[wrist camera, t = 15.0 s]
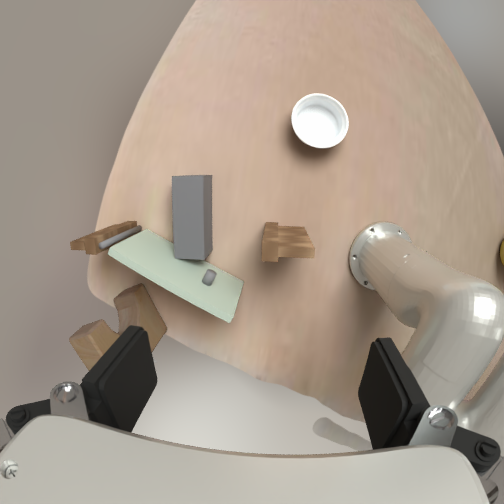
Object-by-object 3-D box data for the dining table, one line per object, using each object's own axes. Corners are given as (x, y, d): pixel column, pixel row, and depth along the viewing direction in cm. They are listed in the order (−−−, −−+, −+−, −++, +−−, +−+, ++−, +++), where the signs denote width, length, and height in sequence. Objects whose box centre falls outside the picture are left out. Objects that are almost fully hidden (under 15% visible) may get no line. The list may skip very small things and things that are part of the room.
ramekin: (304, 91, 41) (307, 83, 37) (351, 117, 42) (358, 112, 37) (280, 134, 44) (281, 130, 39) (327, 160, 44) (332, 159, 40)
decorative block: (123, 289, 54) (66, 338, 34) (143, 281, 53) (88, 332, 33) (147, 334, 56) (104, 394, 37) (168, 329, 55) (128, 392, 36)
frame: (304, 223, 47) (315, 243, 34) (303, 237, 48) (313, 262, 34) (114, 221, 50) (69, 238, 36) (115, 233, 50) (71, 253, 37)
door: (249, 272, 50) (240, 305, 37) (240, 287, 51) (229, 323, 38) (142, 214, 48) (103, 228, 36) (136, 229, 49) (97, 247, 37)
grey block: (212, 175, 46) (203, 175, 41) (212, 249, 50) (204, 259, 44) (184, 175, 47) (171, 176, 41) (185, 248, 50) (174, 258, 45)
